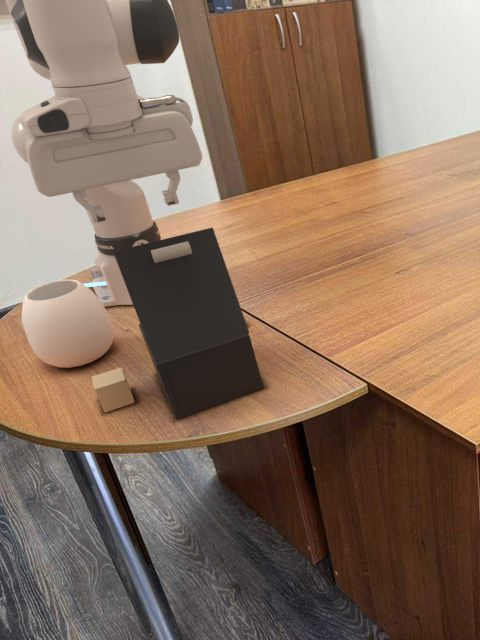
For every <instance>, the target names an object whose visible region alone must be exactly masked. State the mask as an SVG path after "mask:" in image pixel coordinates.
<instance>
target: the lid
mask: <svg viewBox="0 0 480 640" xmlns="http://www.w3.org/2000/svg"><path fill="white" fill-rule="evenodd" d="M113 253H114V256H115V259H116V261H117V264H118V266H119V269H120V272H121V274H122V277H123V279H124V282H125V285H126V287H127V290H128V293H129V295H130V298H131V300H132V303H133V305H132V306H133V308H134V312H135V314H136V316H137V319H138V321H139V324H141V327H142V329H143V332H144V334H145V337H146V340H147V342H148V345H149V348H150V350H151V353H152V355H153V358H154V361H155V363H158V362H161V361H164V360H167V359H170V358H173V357H177V356H180V355H183V354H186V353H189V352H192V351H195V350H199V349H202V348H205V347H208V346H211V345H214V344H217V343H220V342H224V341H227V340H230V339H233V338H236V337H239V336H242V335H245V334H249V335H250V331H249V328H248V325H247V322H246V319H245V317H244V313H243V311H242V308H241V305H240V301H239V299H238V297H237V294H236V291H235V288H234V284H233V282H232V279H231V276H230V273H229V270H228V267H227V265H226V261H225V259H224V256H223V254H222V250H221V248H220V245H219V241H218V239H217V235H216V232H215V230H214V228H213V227H208V228H204V229H200V230H196V231H192V232H187V233H184V234H179V235H176V236H171V237H166V238H163V239H161V240H159V241H154V242H150V243H146V244H142V245H138V246H134V247H130V248H126V249H121V250H117V251H113Z"/></svg>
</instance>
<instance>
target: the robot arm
mask: <svg viewBox="0 0 480 640" xmlns="http://www.w3.org/2000/svg"><path fill="white" fill-rule="evenodd" d="M5 4H6V6H7V7H6V8H7V9H8V13H9V15H10V18H11V21H12V23H13V26H14V29H15V31H16V33H17V36H18V38H19V41H20V44H21V46H22V49H23V51H24V54H25V56H26V58H27V61H28V63H29V66H30V67H31V68H32V70H33V71H34V72H35V73H36V74H37V75H39V76H40V77H42V78H44V79H46V80H48V81H50V83H51V86H52V89H53V92H54V95H53V96H51V97H49V98H47V99H46V100H43V101H41V102H39V103H37V104H35V105H33V106H31V107H29V108H27V109H25V110H23V112H21V113H22V114H21V116H18V117H16V119H14V122H13V124H12V129H11V140H12V144H13V147H14V149H15V151H16V153H17V154H18V156H19V157H20V158H21V160H23V161H24V162H25V163H26V164H27V165H28V166H29V170H30V173H31V177H32V179H33V182H34V185H35V188H36V190H37V191H38V192H39V193H40V194H41V195H43V196H45V197H47V198H52V197H56V196H57V197H58V196H61V195H66V194H72V196H73V198H74V201H76V202H77V204H79V205H80V206H82V207H83V208H84V210H85V212H86V214H87V217H88V218H89V221H90V223H91V225H92V228H93V230H94V231H93V232H94V243H95V245H96V249H97V251H98V253H97V255H96V257H95V259H94V264H95V267H91V268H89V272H90V274H91V277H92V278H93V279H92V280H91V281H90V282H89V283H88V282H87V283H83V284H84V285H85V286H86V287H88V288H91V287H92V289H93V292H94V294H95V295H96V296H97V297H98V298H99V299H100V301H101V302H102V304H103V306H104V308H106V307H114V306H133V303H132V300H131V298H130V295H129V293H128V290H127V287H126V285H125V282H124V279H123V277H122V274H121V272H120V269H119V266H118V264H117V261H116V259H115V256H114V253H113V251H117V250H121V249H126V248H130V247H134V246H138V245H142V244H146V243H150V242H154V241H159V240H162V237H161V234H160V229H159V227H158V224H157V222H156V221H154V220H153V216H152V214H151V211H150V208H149V204H148V201H147V199H146V195H145V192H144V190H143V189H142V187H141V186H140V185H139V184H137V182H135V181H133V180H138V179H142V178H148V177H151V176H156V175H161V174H165V176H166V178H168V179H169V182H168V186H167V189H164V190H162V191H161V193H162V196H163V200H164V203H165V205H167V206H168V207H169V206H173V205H174V206H175V205H179V204H180V201H179V198H178V195H177V192H178V189H179V184H180V181H181V175H180V172H179V170H185V169H190V168H194V167H198V166H200V164H201V163H202V160H203V152H202V150H201V147H200V144H199V142H198V139H197V137H196V134H195V132H194V130H193V127H192V126H193V121H194V119H193V114H192V111H191V107H190V105H189V104H188V102H187V101H186V100H184V99H183V98H180V97H177V96H175V95H174V94H166V95H163V96H159V97H148V98H144V97H142V96H141V95H138V94H137V90H136V87H135V84H134V81H133V78H132V75H131V72H130V69H129V68H128V67H127V66H129V65H138V64H139V65H155V64H165V63H166V62H167V61H168V59H170V57H171V56H172V55H173V53H174V52H175V50H176V49H177V47H178V45H179V43H180V33H179V27H178V22H177V18H176V16H175V13H174V10H173V7H172V5H171V4H170V2H169V1H168V0H5Z"/></svg>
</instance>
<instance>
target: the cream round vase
mask: <svg viewBox="0 0 480 640" xmlns="http://www.w3.org/2000/svg"><path fill="white" fill-rule="evenodd" d="M84 284H85V283H83V282H81V281H79V280H76V279H58V280H53V281H49V282H45V283H42V284H40V285H38V286H36V287H34V288H32V289H30V290H29V291H28V292H27V293H26V294H25V295H24V297H23V301H22V307H21V324H22V328H23V330H24V333H25V336H26V338H27V341H28V343H29V345H30V347H31V349H32V351H33V353H34V355H35V356H36V357H38V358H39V360H41V361H42V362H43V363H45V364H47V365H50V366H52V367H56V368H61V369H63V368H65V369H70V368H75V367H81V366H84V365H87V364H89V363H92V362H95V361H96V360H98V359H101V358H102V356H104V355H105V354H106V353H107V352H108V351H109V349H110V348H111V346H112V344H113V341H114V333H115V331H114V330H115V329H114V326H113V322H112V321H111V317H110V315H109V313H108V311H107V310H106V307H104V306H103V304H102V302H101V301H100V299H99V298H98V297H97V295H96V293H95V292H94V291H92V289H90V287H86V286H85V285H84Z"/></svg>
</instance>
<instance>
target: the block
mask: <svg viewBox="0 0 480 640" xmlns="http://www.w3.org/2000/svg"><path fill="white" fill-rule="evenodd" d="M91 381H92V385H93V389H94V391H95V394H96V397H97V398H98V399H97V400H98V401H99V403H100V405H101V408H102V410H103V412H104V413H109V412H112V411H114V410H118V409H120V408H123V407H126V406H130V405H132V404H135V402H136V401H135V398H134V396H133V393H132V390H131V388H130V385H129V382H128V380H127V377H126V375H125V373H124V370H123V368H122V367H118V368H115V369H112V370H109V371H108V370H107V371H105V372H101V373H99V374H96V375H92V376H91Z"/></svg>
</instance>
